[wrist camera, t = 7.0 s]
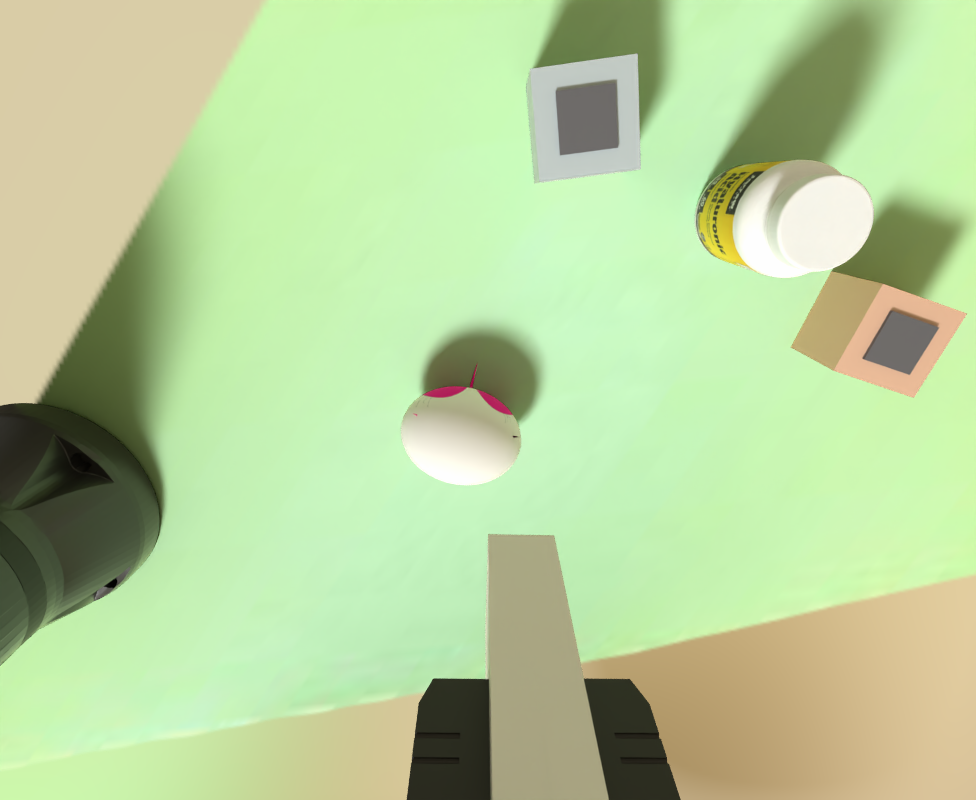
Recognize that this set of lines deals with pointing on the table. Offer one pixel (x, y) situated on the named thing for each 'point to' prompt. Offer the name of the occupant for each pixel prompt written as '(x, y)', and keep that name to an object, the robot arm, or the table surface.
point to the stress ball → (461, 435)
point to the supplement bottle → (784, 217)
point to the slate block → (584, 118)
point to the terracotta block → (876, 332)
